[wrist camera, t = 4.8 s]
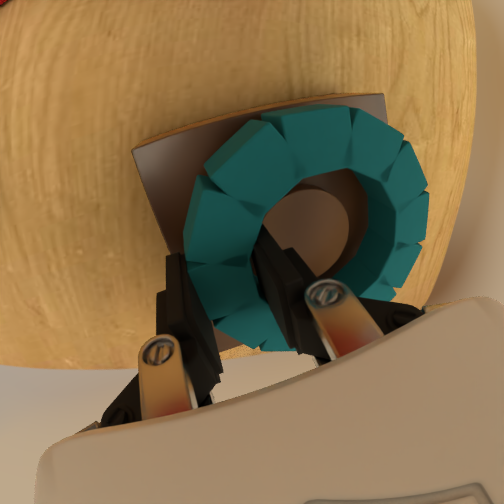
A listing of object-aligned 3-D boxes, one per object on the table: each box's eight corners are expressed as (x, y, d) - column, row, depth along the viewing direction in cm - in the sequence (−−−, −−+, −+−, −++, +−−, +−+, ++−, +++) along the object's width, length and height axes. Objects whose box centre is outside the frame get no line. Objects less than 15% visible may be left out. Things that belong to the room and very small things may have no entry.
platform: (342, 93, 15) (394, 93, 11) (358, 255, 21) (396, 289, 17) (141, 141, 13) (127, 152, 9) (207, 312, 19) (219, 363, 15)
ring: (394, 97, 10) (428, 101, 8) (393, 280, 16) (414, 301, 14) (149, 144, 9) (143, 153, 7) (225, 346, 15) (234, 377, 13)
